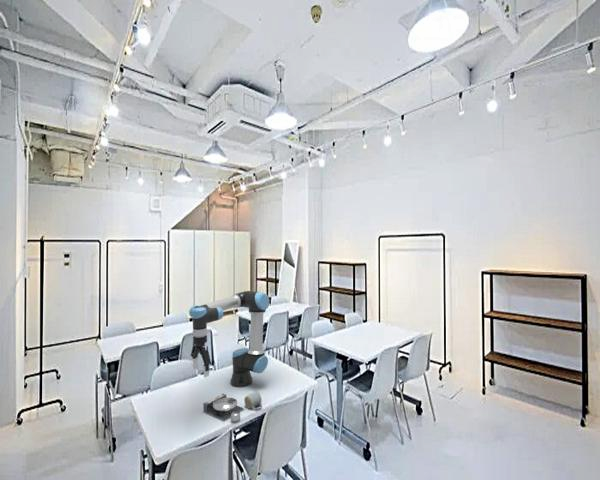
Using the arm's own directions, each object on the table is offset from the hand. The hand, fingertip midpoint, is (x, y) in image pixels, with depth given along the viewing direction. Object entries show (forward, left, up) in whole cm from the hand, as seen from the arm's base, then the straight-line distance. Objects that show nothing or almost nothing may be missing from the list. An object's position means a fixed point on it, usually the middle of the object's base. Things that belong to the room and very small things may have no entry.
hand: (200, 373), depth 186 cm
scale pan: (-12, +5, -24) cm, 27 cm away
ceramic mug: (-26, +16, -26) cm, 40 cm away
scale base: (-12, +4, -26) cm, 29 cm away
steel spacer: (-9, +18, -26) cm, 33 cm away
